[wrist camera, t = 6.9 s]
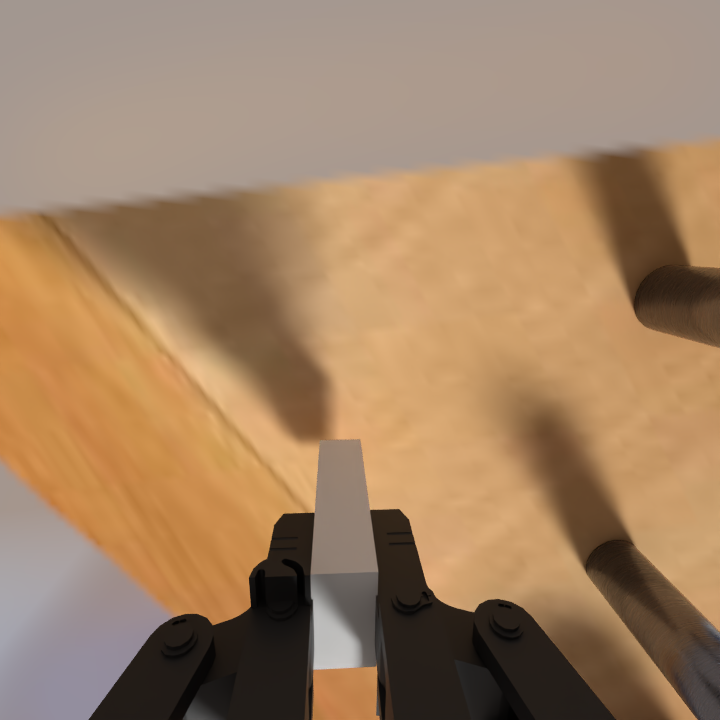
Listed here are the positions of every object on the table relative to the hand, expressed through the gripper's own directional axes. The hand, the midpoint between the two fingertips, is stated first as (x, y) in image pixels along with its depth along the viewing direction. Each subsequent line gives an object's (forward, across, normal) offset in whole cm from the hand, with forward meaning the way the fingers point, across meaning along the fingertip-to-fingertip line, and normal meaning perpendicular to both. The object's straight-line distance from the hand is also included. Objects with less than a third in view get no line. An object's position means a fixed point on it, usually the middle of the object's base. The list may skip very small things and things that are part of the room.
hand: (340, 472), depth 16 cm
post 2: (+2, +13, -6) cm, 15 cm away
